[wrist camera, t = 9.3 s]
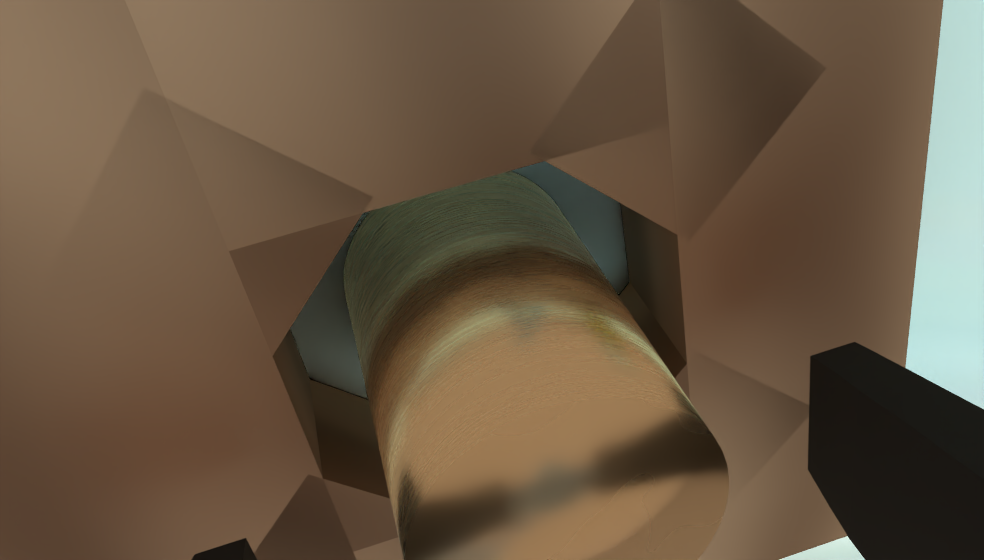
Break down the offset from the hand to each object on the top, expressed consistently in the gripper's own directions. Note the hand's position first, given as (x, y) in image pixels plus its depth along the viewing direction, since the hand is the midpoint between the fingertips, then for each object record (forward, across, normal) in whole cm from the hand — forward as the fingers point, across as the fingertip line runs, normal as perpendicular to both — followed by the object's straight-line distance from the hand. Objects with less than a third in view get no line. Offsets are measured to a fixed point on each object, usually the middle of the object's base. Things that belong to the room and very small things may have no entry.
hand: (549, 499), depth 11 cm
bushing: (+5, 0, 0) cm, 5 cm away
